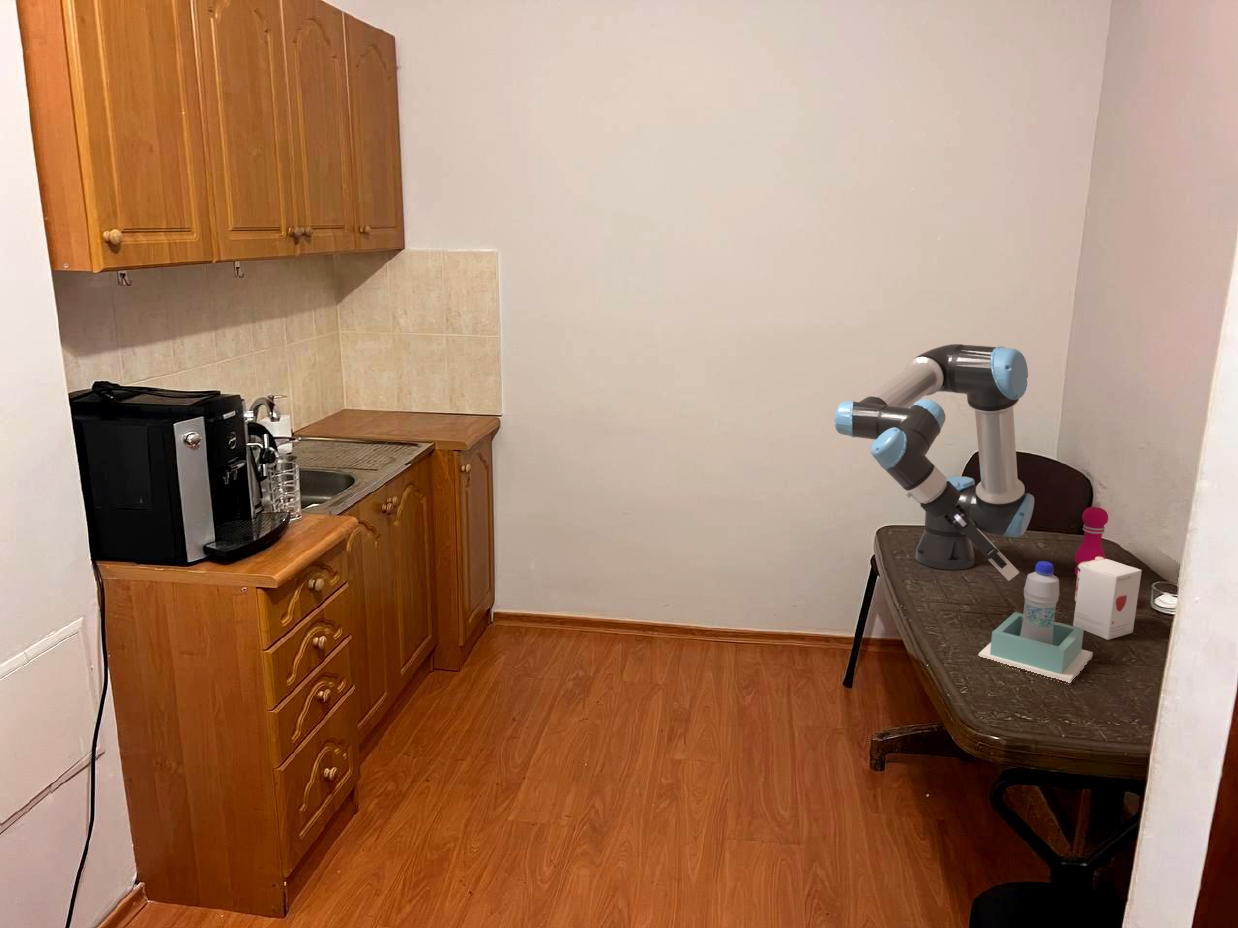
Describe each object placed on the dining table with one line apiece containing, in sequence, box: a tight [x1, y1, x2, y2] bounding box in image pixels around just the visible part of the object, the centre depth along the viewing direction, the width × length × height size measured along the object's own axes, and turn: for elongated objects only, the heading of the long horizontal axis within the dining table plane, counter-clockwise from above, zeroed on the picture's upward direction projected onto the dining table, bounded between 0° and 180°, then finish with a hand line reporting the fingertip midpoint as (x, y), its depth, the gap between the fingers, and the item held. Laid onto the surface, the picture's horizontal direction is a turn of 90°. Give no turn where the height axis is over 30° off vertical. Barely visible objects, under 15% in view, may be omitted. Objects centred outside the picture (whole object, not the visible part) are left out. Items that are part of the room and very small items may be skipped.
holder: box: [977, 611, 1094, 684], centre depth 193 cm, size 18×16×6 cm
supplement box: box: [1072, 558, 1143, 641], centre depth 206 cm, size 9×9×15 cm
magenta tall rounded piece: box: [1074, 501, 1109, 576], centre depth 239 cm, size 7×7×20 cm
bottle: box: [1020, 560, 1060, 645], centre depth 191 cm, size 7×7×20 cm
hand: (1003, 564), depth 189 cm, fingers open, 13 cm apart
